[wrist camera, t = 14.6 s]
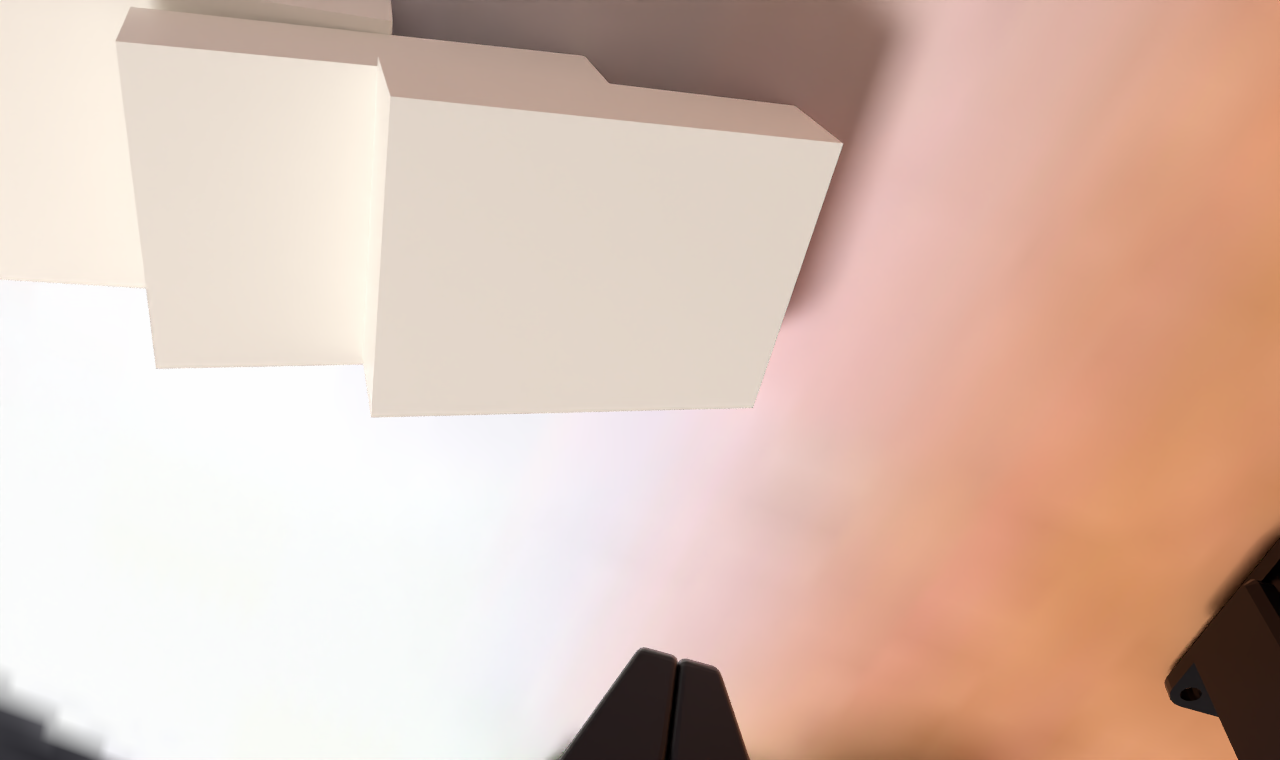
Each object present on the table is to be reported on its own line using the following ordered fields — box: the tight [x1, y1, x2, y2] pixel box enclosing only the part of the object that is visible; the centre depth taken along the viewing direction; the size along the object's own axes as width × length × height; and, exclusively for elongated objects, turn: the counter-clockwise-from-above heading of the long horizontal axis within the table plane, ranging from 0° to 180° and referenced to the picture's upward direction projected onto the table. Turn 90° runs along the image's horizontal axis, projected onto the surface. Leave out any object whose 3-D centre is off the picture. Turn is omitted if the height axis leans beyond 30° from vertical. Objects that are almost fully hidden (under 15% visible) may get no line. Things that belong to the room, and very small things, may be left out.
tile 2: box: [115, 7, 608, 369], centre depth 17 cm, size 2×6×8 cm
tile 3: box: [0, 0, 393, 289], centre depth 18 cm, size 2×6×8 cm
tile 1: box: [362, 56, 843, 417], centre depth 17 cm, size 2×6×8 cm
